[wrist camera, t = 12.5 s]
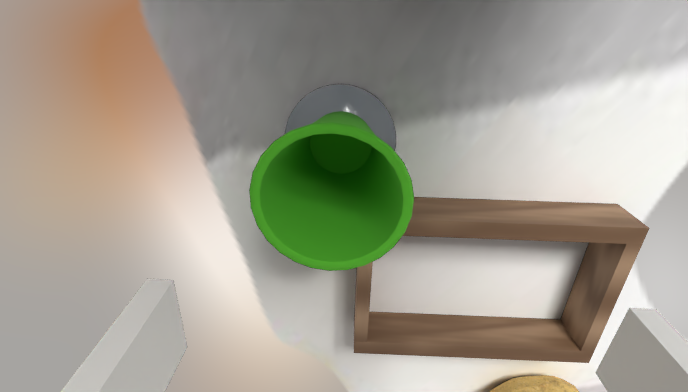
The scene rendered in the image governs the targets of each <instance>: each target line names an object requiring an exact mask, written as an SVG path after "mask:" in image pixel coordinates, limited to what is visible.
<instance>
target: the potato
mask: <svg viewBox="0 0 688 392" xmlns="http://www.w3.org/2000/svg"><path fill="white" fill-rule="evenodd" d="M489 392H579V391H578V390H577V388H576V387H575V386H574V385H572V384H570V383H568V382H567V381H565V380H563V379H560V378H557V377H554V376H542V375H541V376H523V377H517V378H513V379H510V380H508V381H506V382H504V383H502V384H500V385H499V386H497V387H495V388H494V389H492V390H491V391H489Z"/></svg>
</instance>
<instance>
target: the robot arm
mask: <svg viewBox="0 0 688 392" xmlns="http://www.w3.org/2000/svg"><path fill="white" fill-rule="evenodd" d="M186 348H187V343H186V338H185V334H184V329H183V324H182V320H181V314H180V309H179V304H178V300H177V295H176V290H175V285H174V281H173V280H163V279H147V280H146V281H145V282H144V284H143V285H142V286H141V287H140V289H139V290H138V291H137V293H136V294H135V295H134V296H133V298H132V299H131V300H130V302H129V303H128V304H127V306H126V307H125V308H124V310H123V311H122V312H121V313H120V315H119V316H118V317H117V319H116V320H115V322H114V323H113V324H112V325H111V327H110V328H109V329H108V330H107V332H106V333H105V334H104V336H103V337H102V338H101V340H100V341H99V342H98V344H97V345H96V346H95V347H94V349H93V350H92V351H91V353H90V354H89V355H88V357H87V358H86V359H85V360H84V362H83V363H82V364H81V366H80V367H79V368H78V370H77V371H76V372H75V373H74V375H73V376H72V378H71V379H70V380H69V381H68V383H67V384H66V385H65V387H64V388H63V389H62V390H61V392H165V391H166V389H167V387H168V385H169V383H170V380H171V379H172V377H173V375H174V372H175V371H176V368H177V366H178V364H179V363H180V360H181V358H182V357H183V355H184V353H185V351H186ZM596 374H597V376H598V377H599V379H600V380H601V382H602V384H603V385H604V387H605V388H606V390H607V391H608V392H688V342H687V341H686V340H685V338H684V337H683V336H682V335H681V334H680V333H679V332H678V331H677V330H676V329H675V328H674V327H673V326H672V325H671V324H670V323H669V322H668V321H667V320H666V319H665V318H664V317H663V316H662V315H661V314H660V312H659V311H658V310H657V309H642V308H629V310H628V312H627V313H626V315H625V317H624V319H623V321H622V323H621V325H620V327H619V329H618V331H617V333H616V334H615V336H614V338H613V340H612V342H611V344H610V346H609V348H608V350H607V352H606V354H605V356H604V357H603V359H602V361H601V363H600V365H599V367H598V369H597V371H596Z"/></svg>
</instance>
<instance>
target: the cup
mask: <svg viewBox="0 0 688 392" xmlns="http://www.w3.org/2000/svg"><path fill="white" fill-rule="evenodd" d="M249 191H250V202H251V209H252V212H253V215H254V218H255V220H256V223H257V226H258V227H259V229H260V230H261V232H262V233H263V235H264V236H265V238H266V239H267V241H268V242H269V243H270V244H272V245H273V246H274V247H275V248H276V249H277V250H278V251H279V252H280V253H282V254H283V255H285V256H286V257H288V258H290V259H291V260H293V261H295V262H297V263H300V264H302V265H305V266H308V267H311V268H316V269H322V270H329V271H333V270H349V269H353V268H357V267H361V266H365V265H367V264H369V263H371V262H373V261H375V260H377V259H379V258H381V257H382V256H383V255H384V254H385V253H387V252H388V251H389V250H390V249H392V248H393V247H394V246H395V245H396V243H397V242H398V241H399V239H400V238H401V237H402V235H403V234H404V233H405V231H406V229H407V226H408V224H409V221H410V219H411V217H412V211H413V203H414V194H413V187H412V180H411V178H410V176H409V173H408V171H407V169H406V167H405V164H404V162H403V161H402V160H401V158H400V157H399V156H398V155H397V154H396V152H395V151H394V150H393V149H392V147H391V146H389V145H388V144H387V143H385V142H384V141H383V140H381V139H380V138H379V137H377V136H376V135H375V134H374V132H373V131H372V130H371V128H370V127H369V126H368V125H367V123H366V122H365V121H364V120H363V119H361V118H360V117H359V116H357V115H355V114H352V113H350V112H344V111H339V112H332V113H329V114H326V115H324V116H323V117H321V118H320V119H318V120H317V121H315V122H314V123H312V124H309V125H306V126H303V127H300V128H297V129H294V130H291V131H289V132H288V133H286V134H285V135H283V136H282V137H280V138H279V139H277V140H275V141H274V142H273V143H272V144H271V145H270V146H269V147H268V149H267V150H266V151H265V152H264V153H263V154H262V155H261V157H260V159H259V161H258V163H257V165H256V167H255V169H254V171H253V174H252V179H251V184H250V190H249Z"/></svg>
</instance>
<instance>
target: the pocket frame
mask: <svg viewBox="0 0 688 392" xmlns="http://www.w3.org/2000/svg"><path fill="white" fill-rule="evenodd" d="M648 230H649V228H648V227H647V226H646V225H645V224H643V223H642V222H641V221H639V220H638V219H637V218H635V217H634V216H633V215H631V214H630V213H629V212H627V211H626V210H625V209H623V208H622V207H621V206H620V205H618V204H601V203H572V202H543V201H513V200H484V199H455V198H425V197H414V203H413V211H412V217H411V219H410V221H409V224H408V226H407V229H406V231H405V233H404V234H403V235H402V236H425V237H453V238H480V239H508V240H535V241H563V242H589V244H588V247H587V250H586V252H585V255H584V258H583V260H582V263H581V266H580V268H579V271H578V274H577V276H576V279H575V282H574V284H573V287H572V290H571V293H570V295H569V298H568V301H567V303H566V306H565V309H564V311H563V314H562V317H561V319H536V318H511V317H486V316H462V315H437V314H412V313H387V312H369V306H370V291H371V276H372V262H371V263H369V264H367V265H365V266H361V267H357V271H356V293H355V316H354V353H370V354H394V355H417V356H441V357H464V358H487V359H511V360H534V361H558V362H581V363H589V361H590V359H591V357H592V355H593V353H594V350H595V348H596V346H597V344H598V341H599V339H600V337H601V335H602V332H603V330H604V328H605V326H606V324H607V321H608V319H609V317H610V315H611V312H612V310H613V308H614V306H615V304H616V301H617V299H618V297H619V295H620V292H621V290H622V288H623V286H624V284H625V281H626V279H627V277H628V275H629V272H630V270H631V268H632V266H633V263H634V261H635V259H636V257H637V254H638V252H639V250H640V248H641V246H642V243H643V241H644V239H645V237H646V234H647V232H648Z"/></svg>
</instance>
